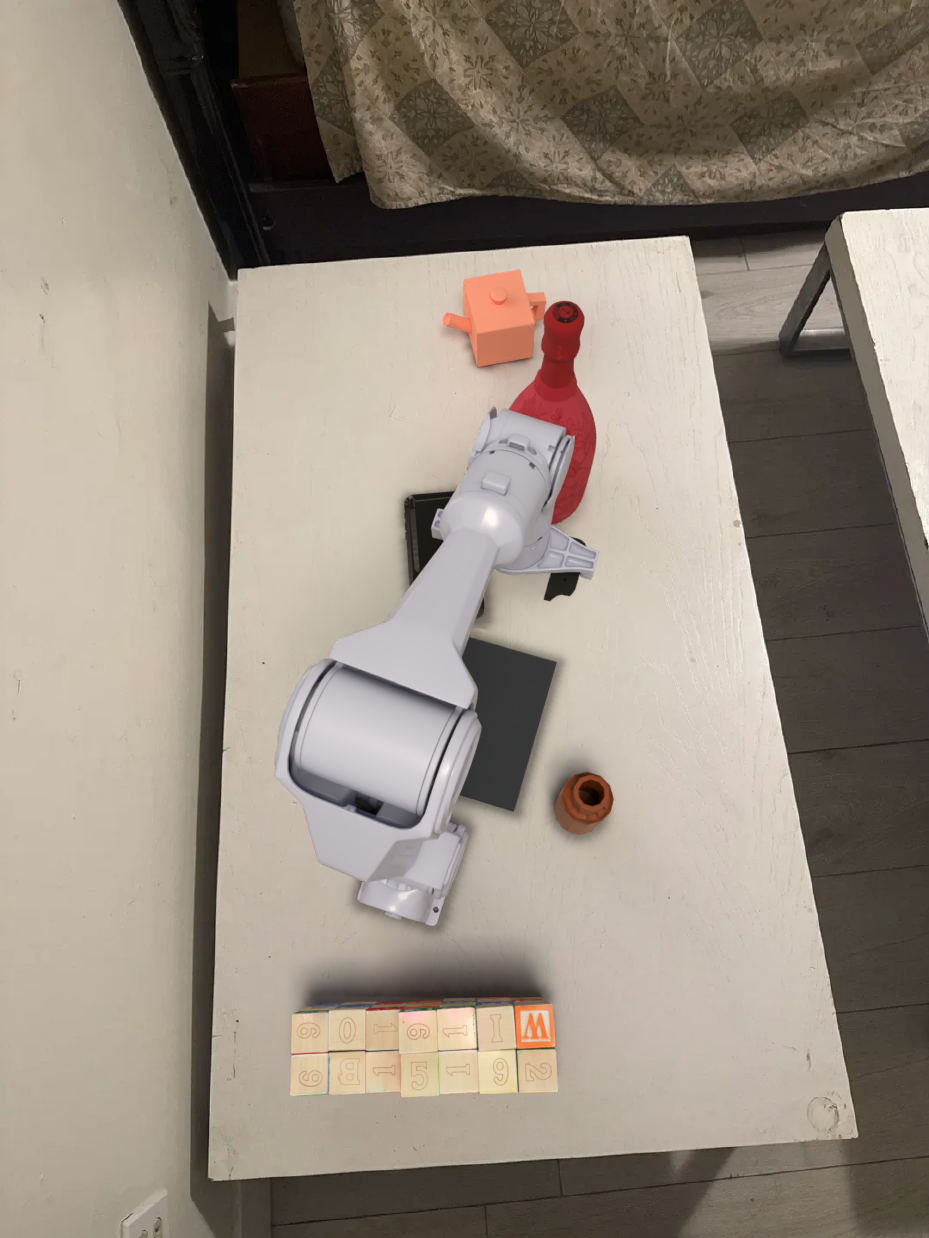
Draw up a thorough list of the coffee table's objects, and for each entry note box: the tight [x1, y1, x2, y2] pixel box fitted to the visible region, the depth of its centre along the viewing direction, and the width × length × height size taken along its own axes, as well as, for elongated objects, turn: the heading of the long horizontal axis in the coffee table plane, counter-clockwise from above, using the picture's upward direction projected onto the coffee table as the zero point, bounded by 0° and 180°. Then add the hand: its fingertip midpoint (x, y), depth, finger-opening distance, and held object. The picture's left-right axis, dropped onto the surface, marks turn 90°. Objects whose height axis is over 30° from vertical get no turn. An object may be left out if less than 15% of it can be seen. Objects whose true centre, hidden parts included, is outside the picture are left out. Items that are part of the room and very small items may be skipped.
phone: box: [403, 490, 485, 621], centre depth 95 cm, size 8×1×15 cm
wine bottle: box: [508, 300, 597, 526], centre depth 84 cm, size 10×10×30 cm
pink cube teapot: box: [441, 268, 547, 368], centre depth 101 cm, size 8×12×8 cm, turn 101°
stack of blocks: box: [289, 996, 559, 1098], centre depth 73 cm, size 21×6×12 cm, turn 92°
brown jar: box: [553, 771, 615, 836], centre depth 81 cm, size 5×5×11 cm
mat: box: [459, 636, 557, 812], centre depth 89 cm, size 16×14×1 cm
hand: (511, 581), depth 84 cm, fingers open, 7 cm apart
